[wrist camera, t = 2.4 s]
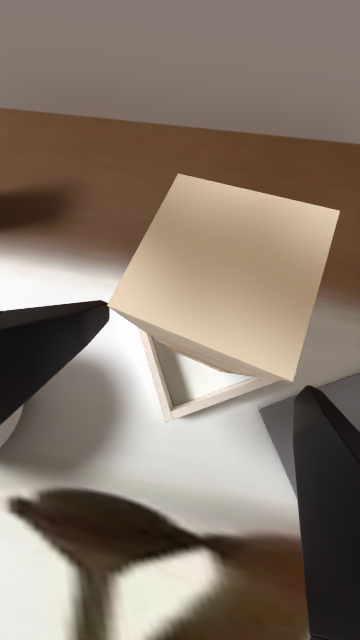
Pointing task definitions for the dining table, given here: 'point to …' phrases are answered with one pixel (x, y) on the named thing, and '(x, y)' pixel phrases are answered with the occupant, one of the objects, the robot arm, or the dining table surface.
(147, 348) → the tray
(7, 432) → the teacup
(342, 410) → the mat
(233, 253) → the birch block
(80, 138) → the dining table surface
